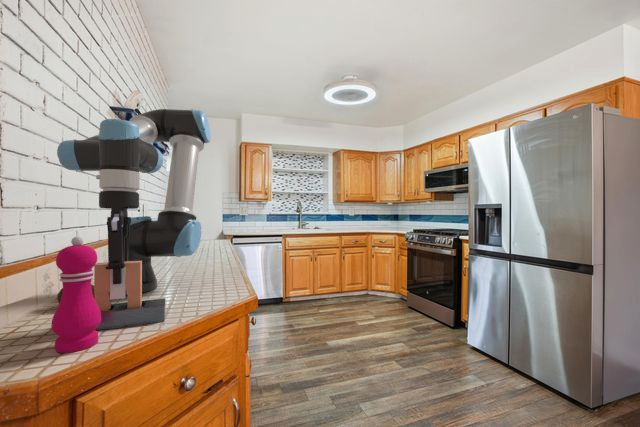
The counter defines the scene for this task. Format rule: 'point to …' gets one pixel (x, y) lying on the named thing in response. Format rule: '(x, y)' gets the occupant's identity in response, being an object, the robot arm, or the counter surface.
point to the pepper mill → (76, 299)
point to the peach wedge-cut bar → (131, 284)
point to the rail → (132, 314)
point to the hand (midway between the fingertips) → (119, 296)
